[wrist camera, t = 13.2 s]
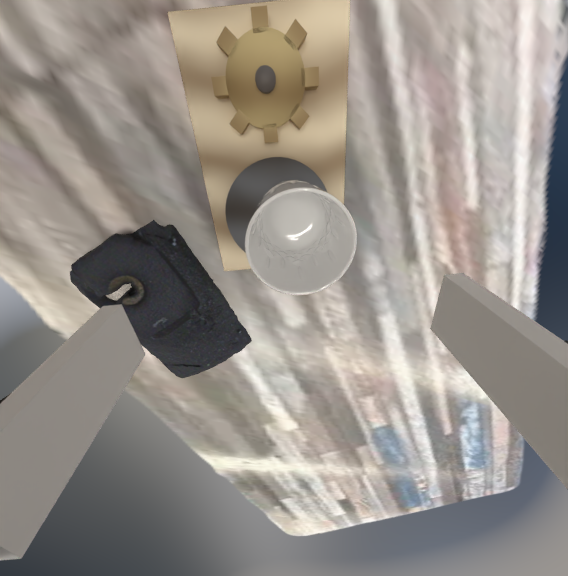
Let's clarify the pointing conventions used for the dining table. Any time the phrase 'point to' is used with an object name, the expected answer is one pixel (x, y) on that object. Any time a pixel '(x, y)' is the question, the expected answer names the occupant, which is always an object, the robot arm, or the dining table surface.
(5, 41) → the dining table surface
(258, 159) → the gear board
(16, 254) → the dining table surface
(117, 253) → the dark slate chunk
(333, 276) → the white cup
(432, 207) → the dining table surface
